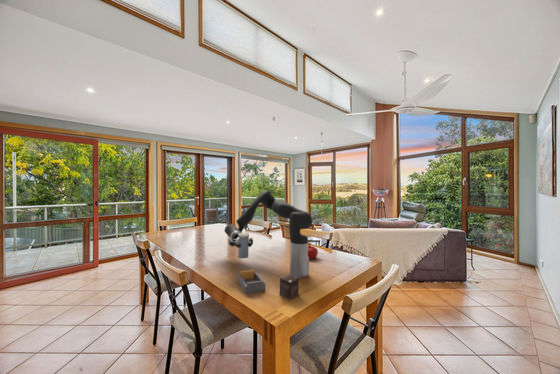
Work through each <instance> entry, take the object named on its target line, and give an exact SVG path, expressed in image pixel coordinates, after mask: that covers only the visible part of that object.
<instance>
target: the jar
mask: <svg viewBox="0 0 560 374" xmlns="http://www.w3.org/2000/svg"><path fill="white" fill-rule="evenodd" d="M238 236H239V239H238V243H239V244H240V248H238V247H237V250H238V251H237V257H238V259H246V258H247V259H248V258H249V249H250V247H249V239H250V233H249V232H242V233H239V234H238Z"/></svg>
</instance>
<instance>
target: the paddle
mask: <svg viewBox="0 0 560 374" xmlns="http://www.w3.org/2000/svg"><path fill="white" fill-rule="evenodd" d="M254 271H255V270H254V269H249V270H248V269H246V270H241V271H240V275H241V277H242V278H243V280H246V279H253V278H254Z"/></svg>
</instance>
